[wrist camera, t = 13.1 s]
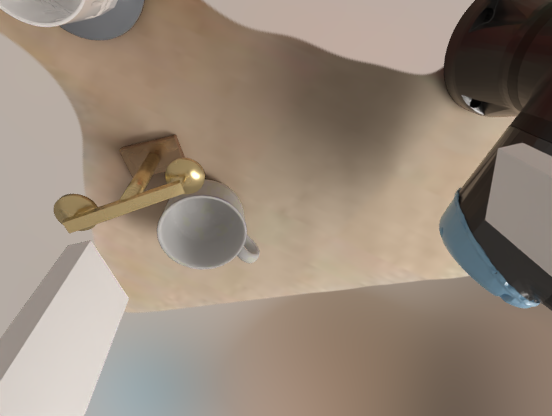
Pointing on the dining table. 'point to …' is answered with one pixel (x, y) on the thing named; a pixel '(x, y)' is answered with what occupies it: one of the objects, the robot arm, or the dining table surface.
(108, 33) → the dish
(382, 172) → the dining table surface
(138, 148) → the balance
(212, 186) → the teacup
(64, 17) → the white cup
